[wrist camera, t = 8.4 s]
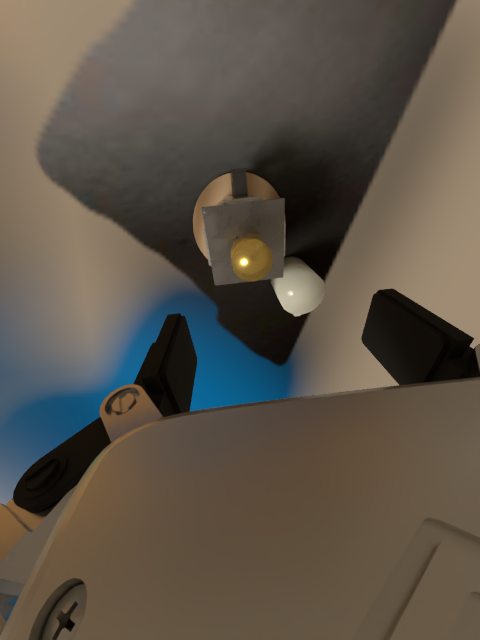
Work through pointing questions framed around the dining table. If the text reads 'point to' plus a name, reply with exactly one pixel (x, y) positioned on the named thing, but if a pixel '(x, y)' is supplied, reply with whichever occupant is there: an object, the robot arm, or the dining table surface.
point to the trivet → (216, 194)
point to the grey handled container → (243, 228)
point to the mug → (298, 287)
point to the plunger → (251, 257)
